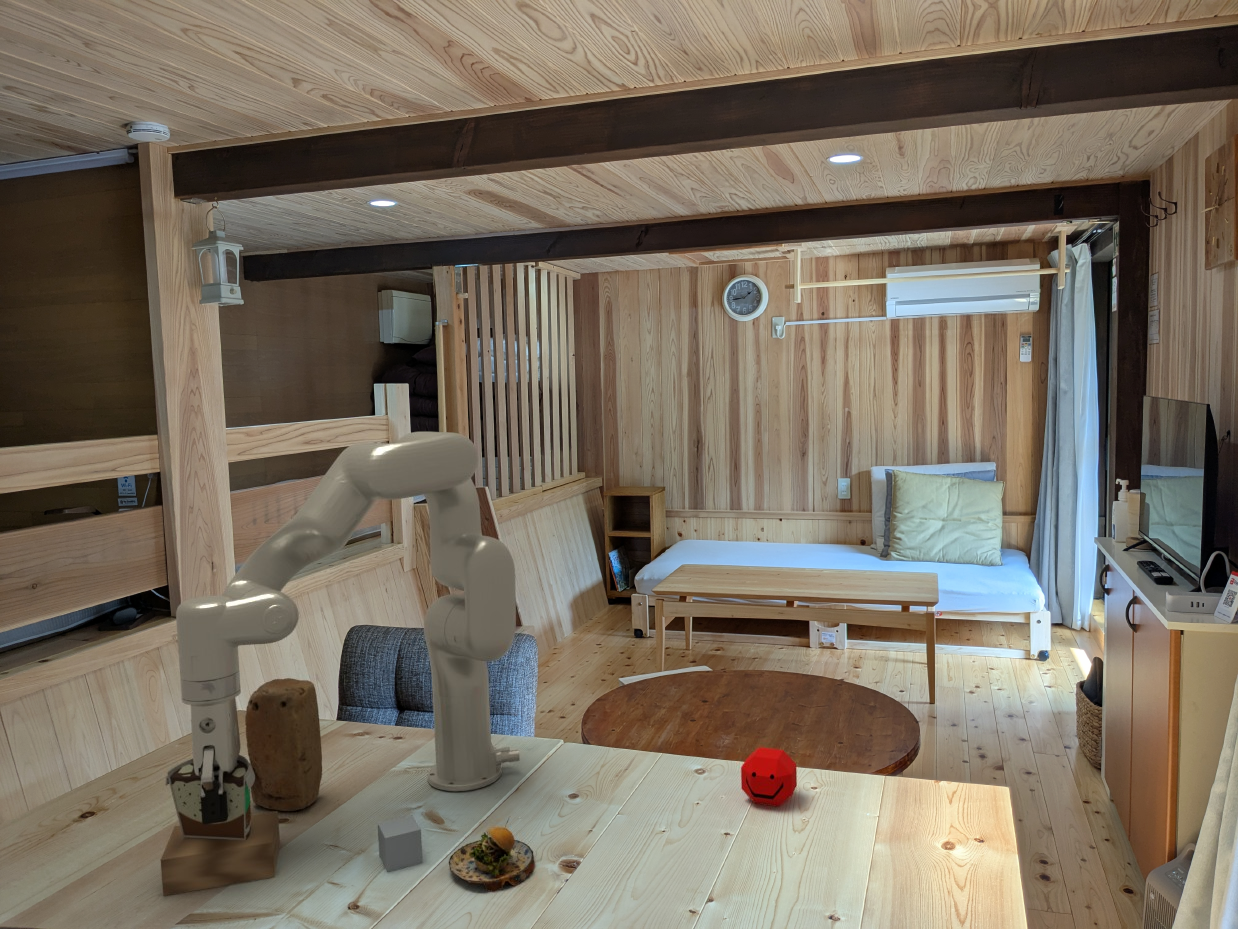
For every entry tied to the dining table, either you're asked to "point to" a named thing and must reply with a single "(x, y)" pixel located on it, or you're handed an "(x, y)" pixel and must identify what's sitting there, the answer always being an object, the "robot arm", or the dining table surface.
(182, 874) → the plinth
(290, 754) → the brown lumpy post
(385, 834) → the slate cube
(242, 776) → the food container
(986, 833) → the dining table surface
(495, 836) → the burger
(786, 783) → the ball
